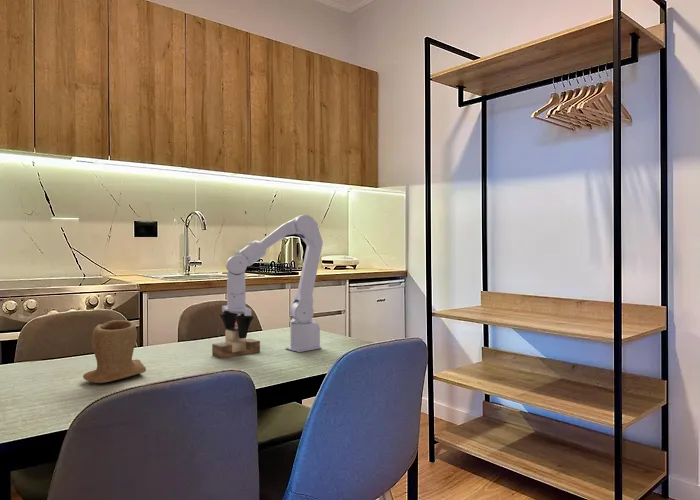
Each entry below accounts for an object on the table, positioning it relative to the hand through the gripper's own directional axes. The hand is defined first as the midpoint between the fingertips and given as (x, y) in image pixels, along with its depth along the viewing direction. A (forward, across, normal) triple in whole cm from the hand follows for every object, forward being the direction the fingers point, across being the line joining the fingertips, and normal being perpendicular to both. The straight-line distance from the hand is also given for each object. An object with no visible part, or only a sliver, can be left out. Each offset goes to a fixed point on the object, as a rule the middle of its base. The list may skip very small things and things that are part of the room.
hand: (236, 336), depth 161 cm
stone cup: (+6, +6, -38) cm, 39 cm away
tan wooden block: (+4, 0, 0) cm, 4 cm away
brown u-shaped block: (+5, 0, 0) cm, 5 cm away
